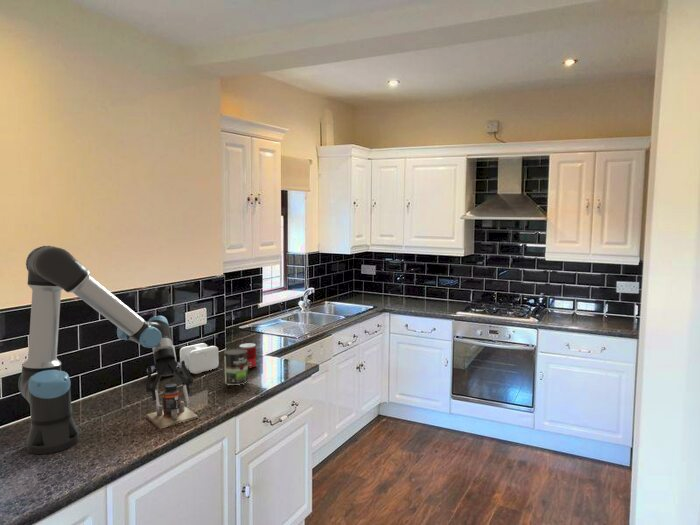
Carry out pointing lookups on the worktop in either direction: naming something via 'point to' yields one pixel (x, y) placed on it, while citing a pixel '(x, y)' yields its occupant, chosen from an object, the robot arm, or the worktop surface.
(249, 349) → the canned food
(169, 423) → the pin plate
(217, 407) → the worktop surface
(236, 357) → the coffee can
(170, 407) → the supplement bottle
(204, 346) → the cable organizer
